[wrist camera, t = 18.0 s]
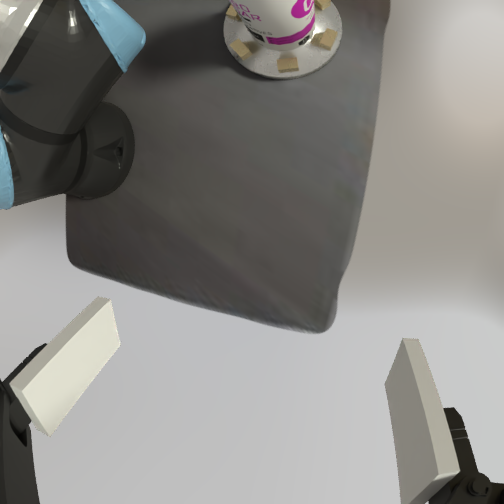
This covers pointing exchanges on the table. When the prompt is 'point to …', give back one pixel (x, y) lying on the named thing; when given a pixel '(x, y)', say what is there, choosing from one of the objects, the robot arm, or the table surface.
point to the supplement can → (278, 21)
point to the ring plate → (289, 61)
